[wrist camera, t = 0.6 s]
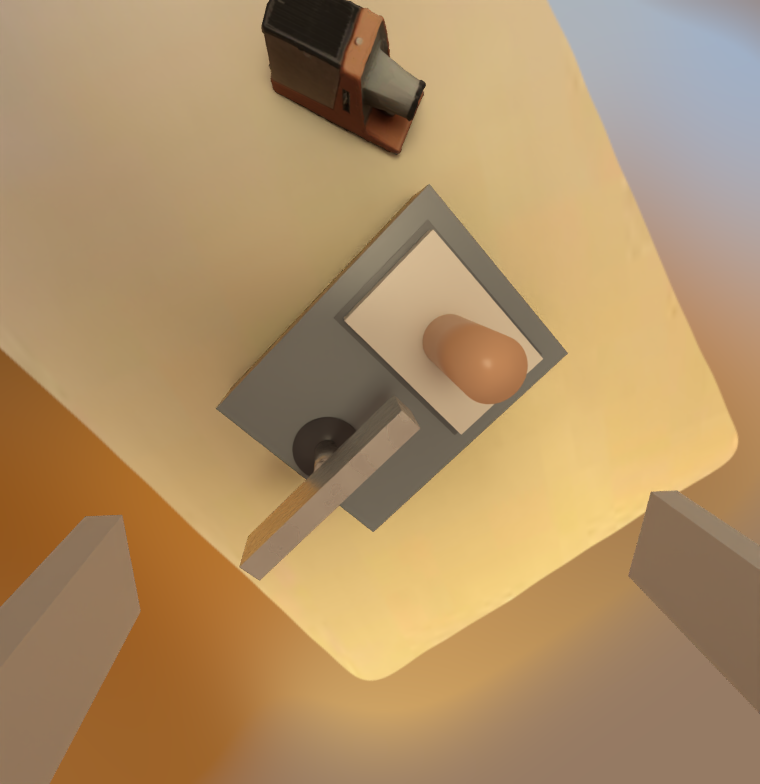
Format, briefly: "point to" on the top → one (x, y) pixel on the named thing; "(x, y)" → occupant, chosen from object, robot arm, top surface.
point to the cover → (444, 333)
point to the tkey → (328, 485)
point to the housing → (371, 369)
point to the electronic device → (341, 68)
